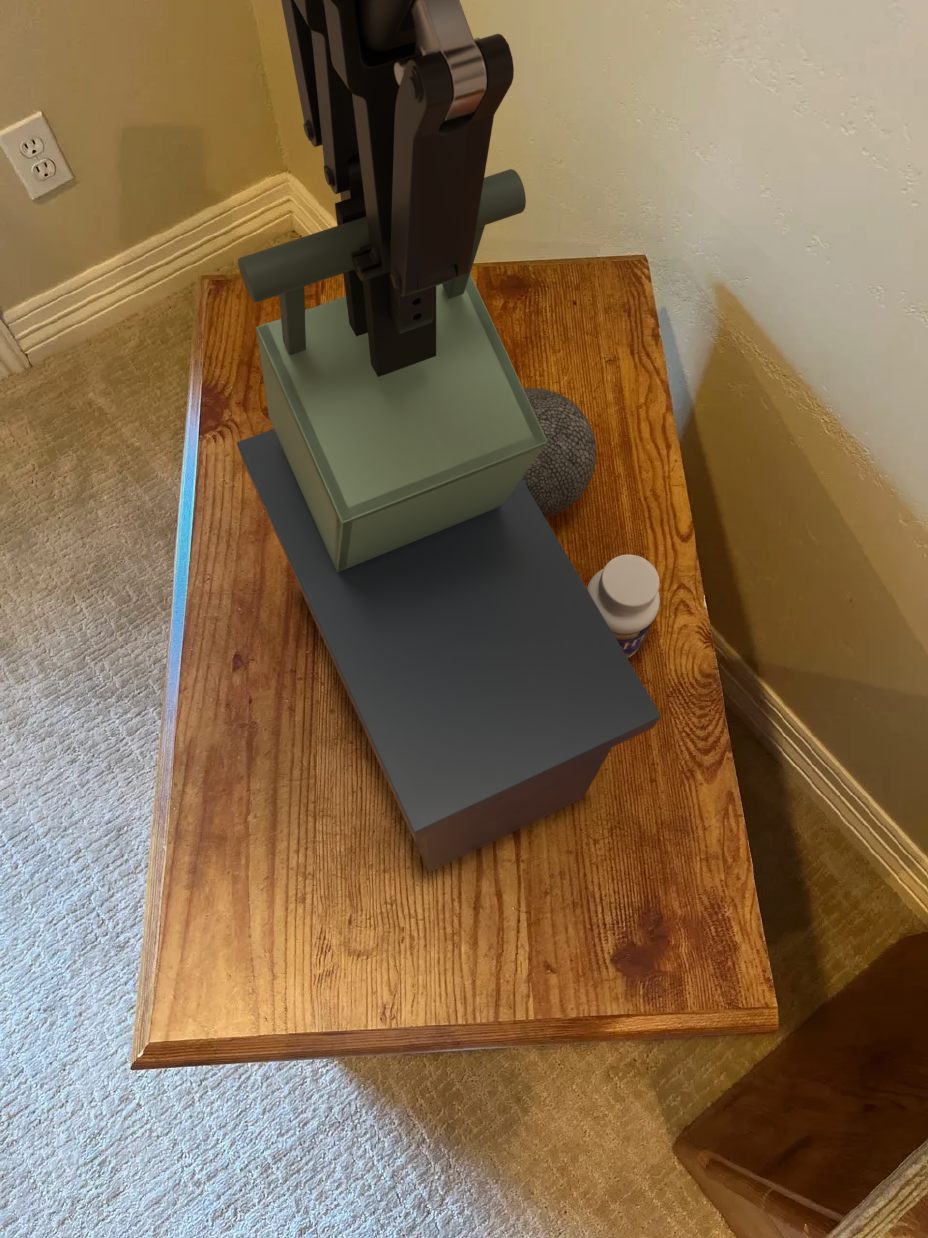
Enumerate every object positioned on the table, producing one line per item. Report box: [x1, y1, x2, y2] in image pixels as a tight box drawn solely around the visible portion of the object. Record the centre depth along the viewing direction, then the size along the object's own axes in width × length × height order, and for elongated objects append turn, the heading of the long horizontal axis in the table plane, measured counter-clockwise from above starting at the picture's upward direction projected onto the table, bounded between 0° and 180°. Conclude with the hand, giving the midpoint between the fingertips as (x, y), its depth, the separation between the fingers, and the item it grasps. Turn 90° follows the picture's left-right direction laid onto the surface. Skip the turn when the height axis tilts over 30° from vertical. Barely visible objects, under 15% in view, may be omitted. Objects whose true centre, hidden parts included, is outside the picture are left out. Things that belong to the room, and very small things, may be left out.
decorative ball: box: [522, 387, 597, 519], centre depth 73 cm, size 10×10×10 cm
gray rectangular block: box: [236, 428, 662, 874], centre depth 61 cm, size 25×14×20 cm, turn 26°
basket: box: [237, 168, 547, 572], centre depth 44 cm, size 19×11×10 cm
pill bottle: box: [586, 554, 661, 659], centre depth 68 cm, size 5×5×9 cm
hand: (392, 339), depth 41 cm, fingers closed on basket, 2 cm apart
